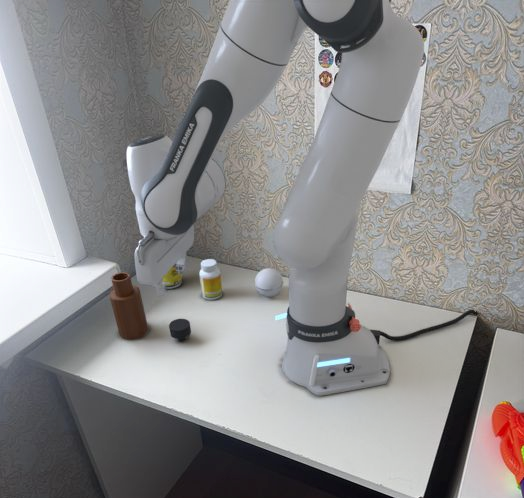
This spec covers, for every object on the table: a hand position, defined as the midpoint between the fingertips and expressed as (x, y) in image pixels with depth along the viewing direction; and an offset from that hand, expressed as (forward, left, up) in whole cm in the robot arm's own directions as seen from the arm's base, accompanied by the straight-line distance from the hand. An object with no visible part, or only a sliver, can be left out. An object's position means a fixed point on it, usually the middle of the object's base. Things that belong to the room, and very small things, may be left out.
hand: (172, 282), depth 108 cm
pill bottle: (+6, -26, -15) cm, 31 cm away
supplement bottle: (-6, -19, -15) cm, 25 cm away
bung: (0, 0, -15) cm, 15 cm away
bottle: (+12, -4, -15) cm, 20 cm away
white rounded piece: (-22, -17, -15) cm, 32 cm away
